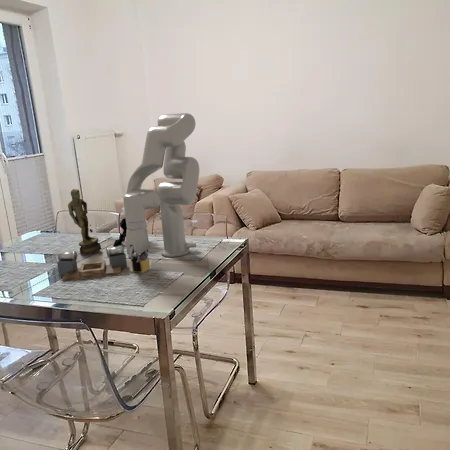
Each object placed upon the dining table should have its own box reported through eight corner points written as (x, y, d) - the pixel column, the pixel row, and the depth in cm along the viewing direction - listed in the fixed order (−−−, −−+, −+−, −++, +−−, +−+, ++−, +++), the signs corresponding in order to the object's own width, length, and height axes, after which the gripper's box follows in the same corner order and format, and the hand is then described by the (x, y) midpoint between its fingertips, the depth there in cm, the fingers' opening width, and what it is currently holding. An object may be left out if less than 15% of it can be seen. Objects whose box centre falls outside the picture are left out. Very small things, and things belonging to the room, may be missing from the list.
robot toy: (139, 235, 241) (135, 197, 236) (157, 239, 232) (153, 200, 226) (107, 245, 227) (102, 204, 222) (125, 250, 218) (121, 207, 213)
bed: (121, 265, 196) (121, 259, 195) (120, 274, 185) (119, 267, 184) (66, 271, 192) (65, 265, 192) (62, 281, 182) (61, 274, 181)
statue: (96, 256, 211) (87, 190, 203) (73, 256, 213) (64, 190, 206) (106, 249, 221) (98, 185, 213) (85, 249, 223) (76, 186, 216)
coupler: (138, 267, 192) (137, 253, 190) (149, 268, 190) (148, 254, 189) (132, 271, 187) (130, 257, 186) (143, 272, 186) (142, 258, 184)
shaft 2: (124, 265, 196) (122, 243, 194) (127, 268, 192) (124, 246, 190) (108, 268, 193) (105, 246, 191) (110, 271, 189) (107, 249, 187)
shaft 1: (59, 275, 188) (55, 253, 186) (63, 272, 192) (60, 250, 190) (75, 275, 187) (72, 253, 185) (79, 271, 191) (76, 249, 189)
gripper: (138, 219, 193) (143, 261, 198) (115, 230, 178) (121, 275, 182) (155, 219, 191) (159, 262, 195) (133, 230, 175) (138, 276, 180)
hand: (141, 268), depth 189 cm, fingers closed on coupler, 5 cm apart
